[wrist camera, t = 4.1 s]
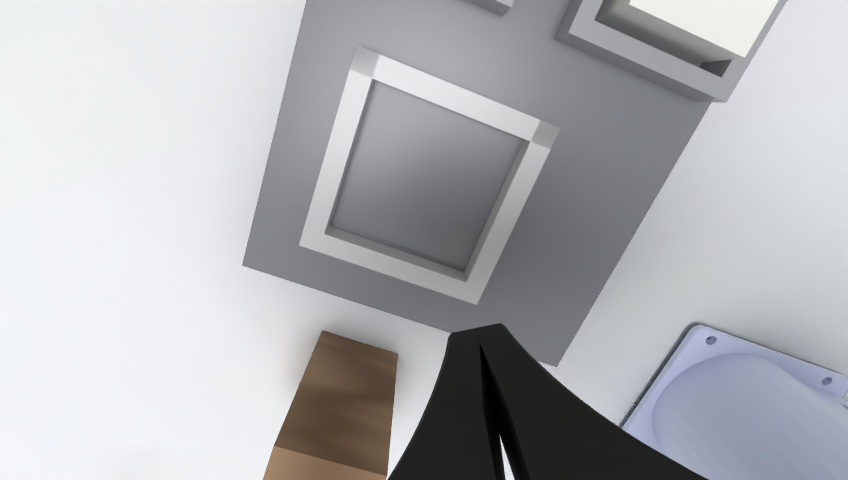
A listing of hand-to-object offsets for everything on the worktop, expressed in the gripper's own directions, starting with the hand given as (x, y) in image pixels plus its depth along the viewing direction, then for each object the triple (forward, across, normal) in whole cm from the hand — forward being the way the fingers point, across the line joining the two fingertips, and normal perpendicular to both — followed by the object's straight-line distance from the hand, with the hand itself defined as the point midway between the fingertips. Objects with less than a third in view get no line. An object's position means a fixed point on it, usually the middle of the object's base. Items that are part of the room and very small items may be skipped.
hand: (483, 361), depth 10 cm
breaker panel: (+9, -3, -6) cm, 11 cm away
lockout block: (+9, +7, +6) cm, 13 cm away
